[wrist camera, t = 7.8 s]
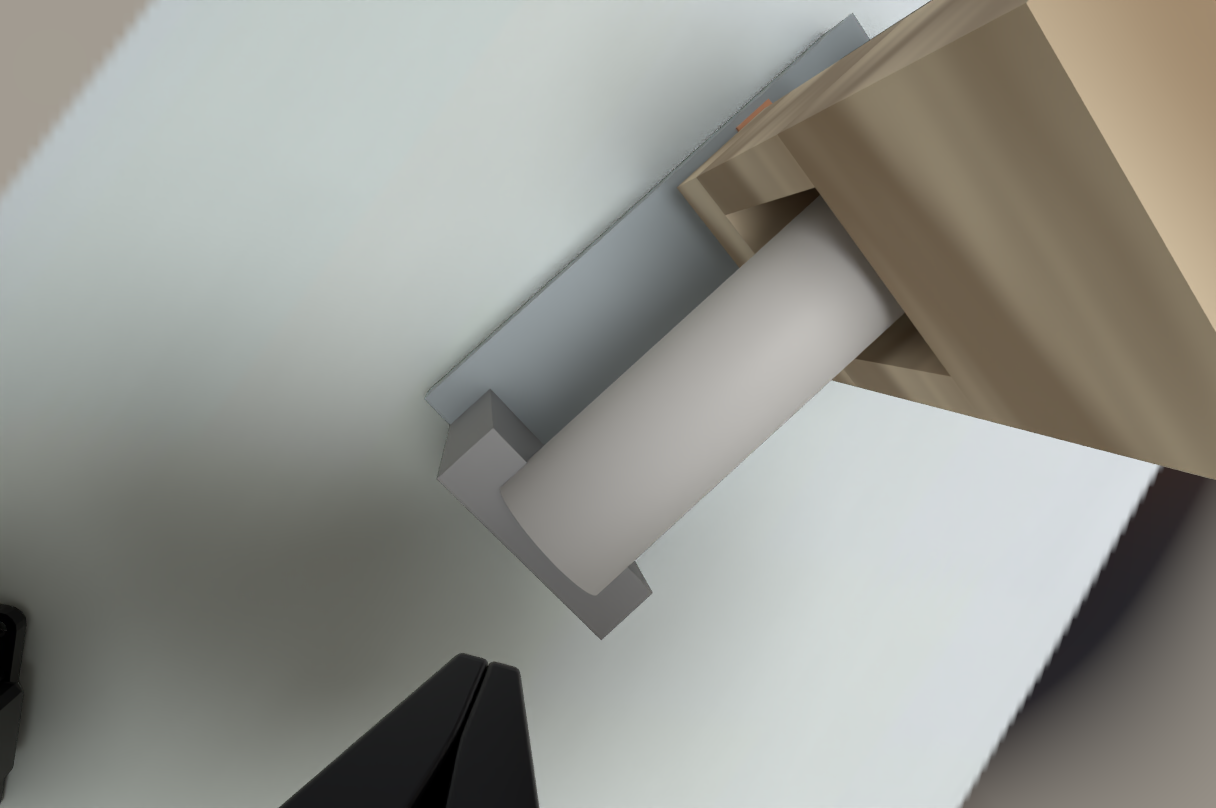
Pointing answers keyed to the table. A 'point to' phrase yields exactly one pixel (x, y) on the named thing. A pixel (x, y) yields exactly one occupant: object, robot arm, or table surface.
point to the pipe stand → (652, 375)
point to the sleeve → (1015, 212)
